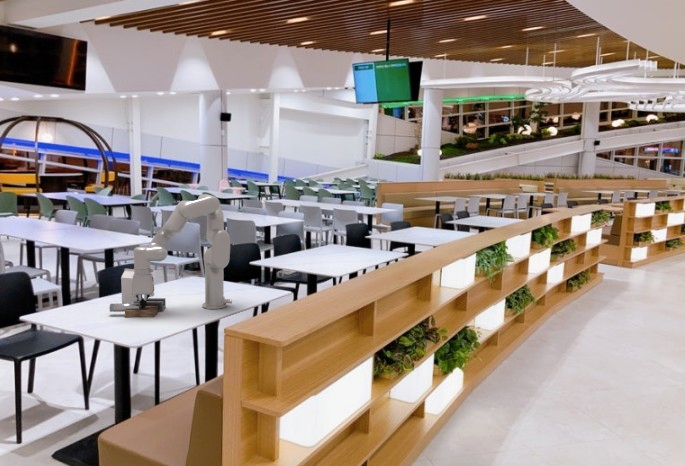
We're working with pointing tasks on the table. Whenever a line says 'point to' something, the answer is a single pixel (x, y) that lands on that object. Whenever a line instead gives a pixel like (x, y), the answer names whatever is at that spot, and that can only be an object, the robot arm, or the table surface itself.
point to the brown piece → (142, 312)
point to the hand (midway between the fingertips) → (143, 307)
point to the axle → (124, 307)
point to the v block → (155, 303)
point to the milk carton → (127, 286)
